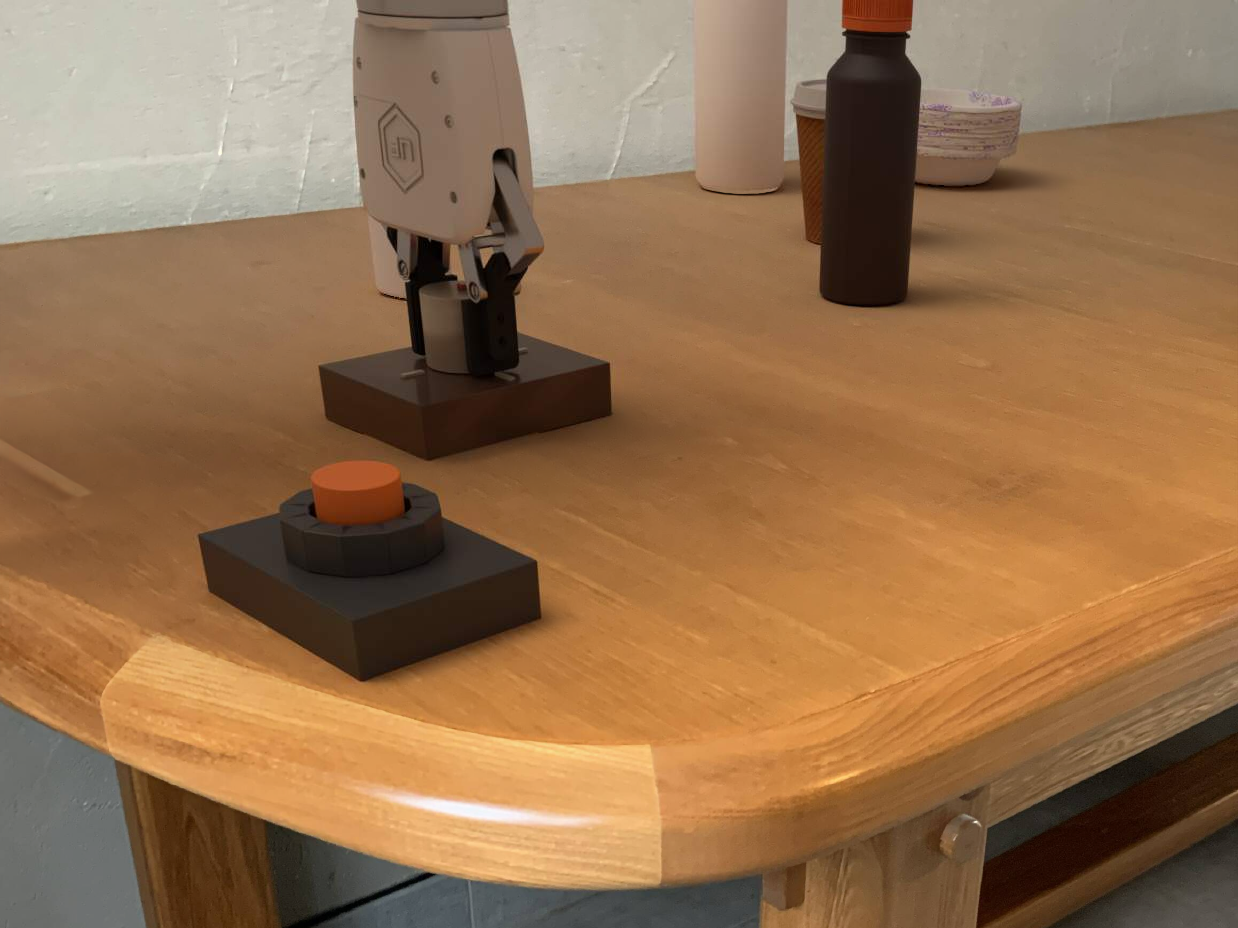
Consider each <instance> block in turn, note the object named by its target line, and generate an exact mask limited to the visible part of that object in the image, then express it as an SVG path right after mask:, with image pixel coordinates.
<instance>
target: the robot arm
mask: <svg viewBox="0 0 1238 928" xmlns="http://www.w3.org/2000/svg"><path fill="white" fill-rule="evenodd" d="M355 3H356V12H357V17H355V18H354V27H353V40H352V43H353V44H352V99H353V116H354V117H353V118H354V131H355V146H356V157H357V168H358V178H359V187H360V189H359V190H360V194H361V195H360V196H361V201H362V206H363V208H364V210H365V212H366V214H367V213H368V214H369V215H370V216H371V217H372V218H373V219H374V220H376V221H377V222H379V223H380V224H381V225H382V226H383V228H384V229H385V231H386V232H387V237H388V239H389V241H390V243H391V245H392V247H393V248H394V250H395V252H396V254H397V270H398V273H399V275H400V277H401V278H402V279H403V280H410V281H409V282H405V290H406V299H405V300H406V307H407V315H408V324H409V325H408V326H409V333H410V342H411V343H410V344H411V347H412V350H413V352H414V353H416V354H418V355H421V356H425V355H426V353H425V344H424V334H423V325H422V315H421V306H420V297H419V289H420V288H421V287H423V286H425V285H428V284H432V283H437V282H444V281H459V279H458V275H456V274H453V273H452V274H450V275H445V274H446V273H448V271H449V268H450V262H451V247H452V246H457V250H458V254H459V260H460V264H461V268H462V273H463V277H464V281H465V282H466V287H467V291H468V295H469V297H470V299H466V300H461V305H462V318H463V329H464V340H465V351H466V362H467V369H468V372H469V373H470V374H473V375H476V376H482V375H486V374H491V373H495V372H500V371H504V370H509V369H513V368H516V367H517V366H518V364H519V349H518V335H517V332H518V324H517V309H516V296H519V295H520V294H521V291H522V280H523V278H524V276H525V275H526V273H527V272H528V269H529V267H530V266H531V265H532V264H533V263H534V262H535V261H536V260H537V259H538V258H539V257H540V256H541V255H542V254H543V253H544V250H545V241H544V238H543V236H542V233H541V232H540V230H539V227H538V225H537V223H536V220H535V218H534V180H533V179H534V177H533V167H532V154H531V153H532V152H531V143H530V136H529V127H528V120H527V112H526V104H525V98H524V97H525V96H524V90H523V85H522V79H521V73H520V68H519V63H518V62H519V61H518V57H517V52H516V47H515V43H514V38H513V34H512V29H511V27H509V26H510V25H511V23H510V13H509V11H510V9H509V7H510V6H509V0H355ZM486 230H488V231H491V234H486V235H484V233H485V231H486ZM476 235H477V236H476ZM478 235H480V236H478ZM428 238H429V239H430V240H429V239H428ZM451 245H452V246H451ZM489 248H492V251H493V253H492V254H491V255H490V257H489V258H488V260H487V262H486V263H485V265H483V260H482V256H481V250H483V249H489Z"/></svg>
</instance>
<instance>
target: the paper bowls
mask: <svg viewBox="0 0 1238 928" xmlns="http://www.w3.org/2000/svg"><path fill="white" fill-rule="evenodd" d="M1022 109H1023V106H1022V103H1021V101H1019V100H1017V99H1015V98H1012V97H1009V96H1004V95H999V94H994V93H989V92H988V93H987V92H982V91H975V90H966V89H954V88H943V87H921V97H920V113H919V128H918V143H917V158H916V173H915V182H917V183H916V184H921V183H922V184H921V185H928V184H931V185H930V186H939V185H944V186H943V187H966V186H965V185H969V186H976V184H977V185H980V184H983V183H985V182H987V181H988V180H989V179H992V176H993V175H994V173H995V171H996V170H997V167H998V165H999V164H1000V161H1001V159H1006V158H1010V157H1012V156H1015V155H1016V153H1017V148H1018V146H1017V145H1018V144H1019V133H1020V125H1021V118H1022Z"/></svg>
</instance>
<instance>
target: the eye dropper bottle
mask: <svg viewBox="0 0 1238 928" xmlns="http://www.w3.org/2000/svg"><path fill="white" fill-rule="evenodd" d="M366 217H367V223H368V224H367V225H368V231H369V233H368V234H369V241H370V248H371V256H372V266H373V272H374V282H375V288H376V290H377V291H378V292H379V293H380V292H381V293H384V294H387V295H390V296H394V297H393V298H395V297H399V298H398V299H400V298H405V299H404V300H407V299H406V290H405V282H409V281H410V280H403V279H402V278H401V277H400V275H399V273H398V270H397V254H396V252H395V250H394V248H393V247H392V245H391V243H390V241H389V239H388V237H387V232H386V231H385V229H384V228H383V226H382V225H381V224H380V223H379V222H377V221H376V220H374V219H373V218H372V217H371V216H370V215H369V214H368V213H367V212H366ZM428 239H429V238H428ZM429 240H430V239H429ZM451 263H452V262H451V261H450V268H449V271H448V273H446V274H445V275H450V274H453V273H452V264H451ZM381 293H380V294H381ZM384 294H383V295H384ZM387 295H386V296H387ZM390 296H389V297H390Z"/></svg>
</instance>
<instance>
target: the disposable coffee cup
mask: <svg viewBox="0 0 1238 928" xmlns="http://www.w3.org/2000/svg"><path fill="white" fill-rule="evenodd" d="M826 81H827V78H822V79H821V78H819V79H817V78H816V79H815V78H814V79H808V80H801V81H798V82H796V85H795V89H794V93H793V97H792V98H791V99H789V101H790V104H791V105H792V110H793V111H792V112H793V113H794V114H795V122H796V136H797V146H798V158H799V170H800V171H799V172H800V184H801V195H802V208H803V216H804V217H803V218H804V219H803V220H804V232H805V238H806V240H807V241H810V242H812V243H815V244H820V245H821V224H822V196H823V167H824V138H825V109H826Z"/></svg>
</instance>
